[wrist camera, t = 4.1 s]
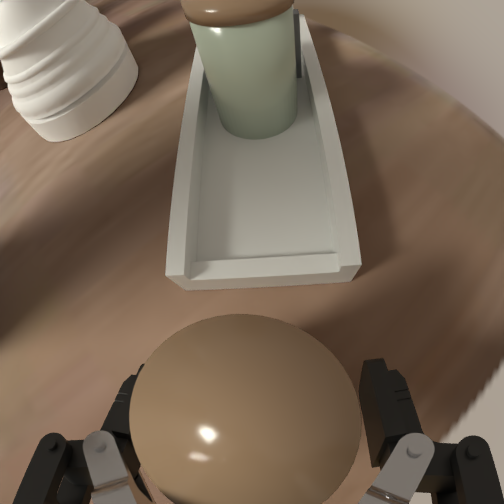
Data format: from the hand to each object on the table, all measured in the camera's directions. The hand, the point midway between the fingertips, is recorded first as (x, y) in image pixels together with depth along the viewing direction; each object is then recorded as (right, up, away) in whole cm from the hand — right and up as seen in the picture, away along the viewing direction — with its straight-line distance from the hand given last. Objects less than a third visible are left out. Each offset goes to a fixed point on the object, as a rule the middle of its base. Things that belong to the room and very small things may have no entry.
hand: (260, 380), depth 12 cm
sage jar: (0, +15, +9) cm, 18 cm away
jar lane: (0, +14, +10) cm, 18 cm away
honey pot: (-18, +22, +15) cm, 32 cm away
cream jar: (+1, -3, +4) cm, 5 cm away
